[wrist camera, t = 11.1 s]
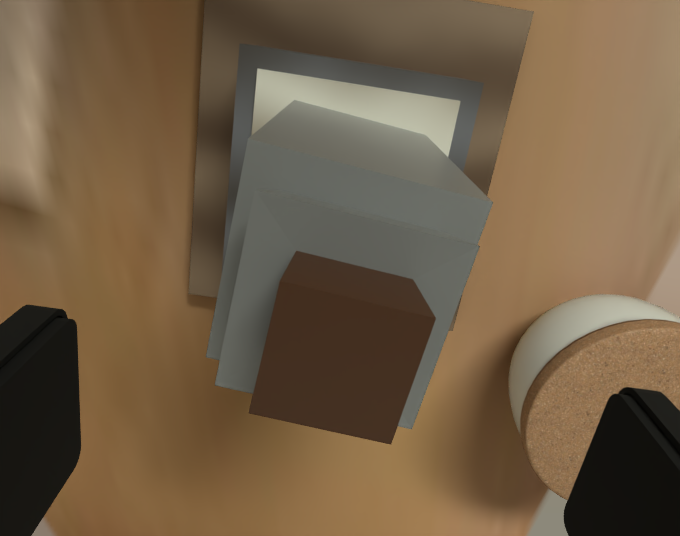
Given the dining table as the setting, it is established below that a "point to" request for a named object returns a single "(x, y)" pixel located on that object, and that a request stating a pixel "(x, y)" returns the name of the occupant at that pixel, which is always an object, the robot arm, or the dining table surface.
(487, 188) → the stand
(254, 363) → the perfume bottle
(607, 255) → the dining table surface
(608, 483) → the robot arm
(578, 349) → the lidded bowl
